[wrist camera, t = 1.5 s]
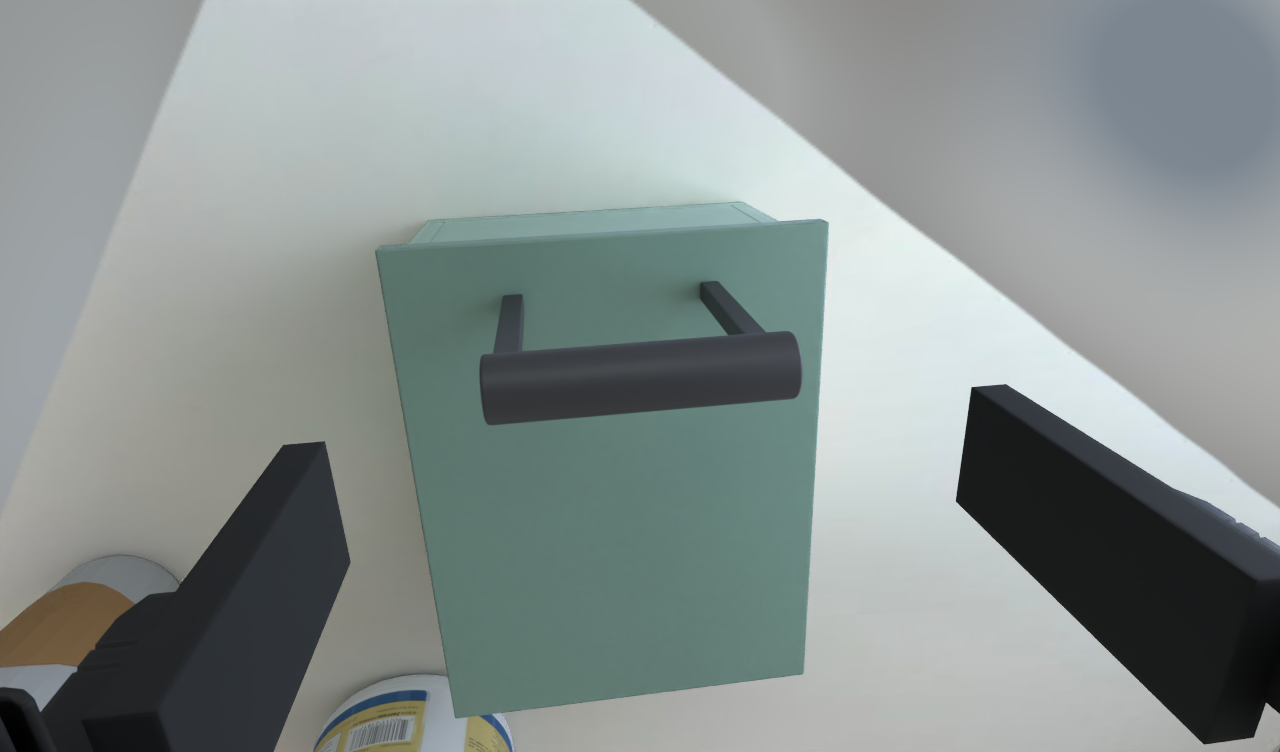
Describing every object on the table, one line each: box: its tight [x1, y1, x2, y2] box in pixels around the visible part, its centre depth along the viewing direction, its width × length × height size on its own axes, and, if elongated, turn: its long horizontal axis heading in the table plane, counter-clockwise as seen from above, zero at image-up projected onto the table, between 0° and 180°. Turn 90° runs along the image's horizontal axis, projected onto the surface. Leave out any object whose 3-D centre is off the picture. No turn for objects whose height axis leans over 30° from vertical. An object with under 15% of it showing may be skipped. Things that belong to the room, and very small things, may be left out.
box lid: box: [375, 219, 829, 718], centre depth 25 cm, size 21×16×10 cm
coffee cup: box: [0, 555, 180, 712], centre depth 34 cm, size 8×8×15 cm
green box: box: [408, 202, 778, 244], centre depth 35 cm, size 20×16×11 cm
